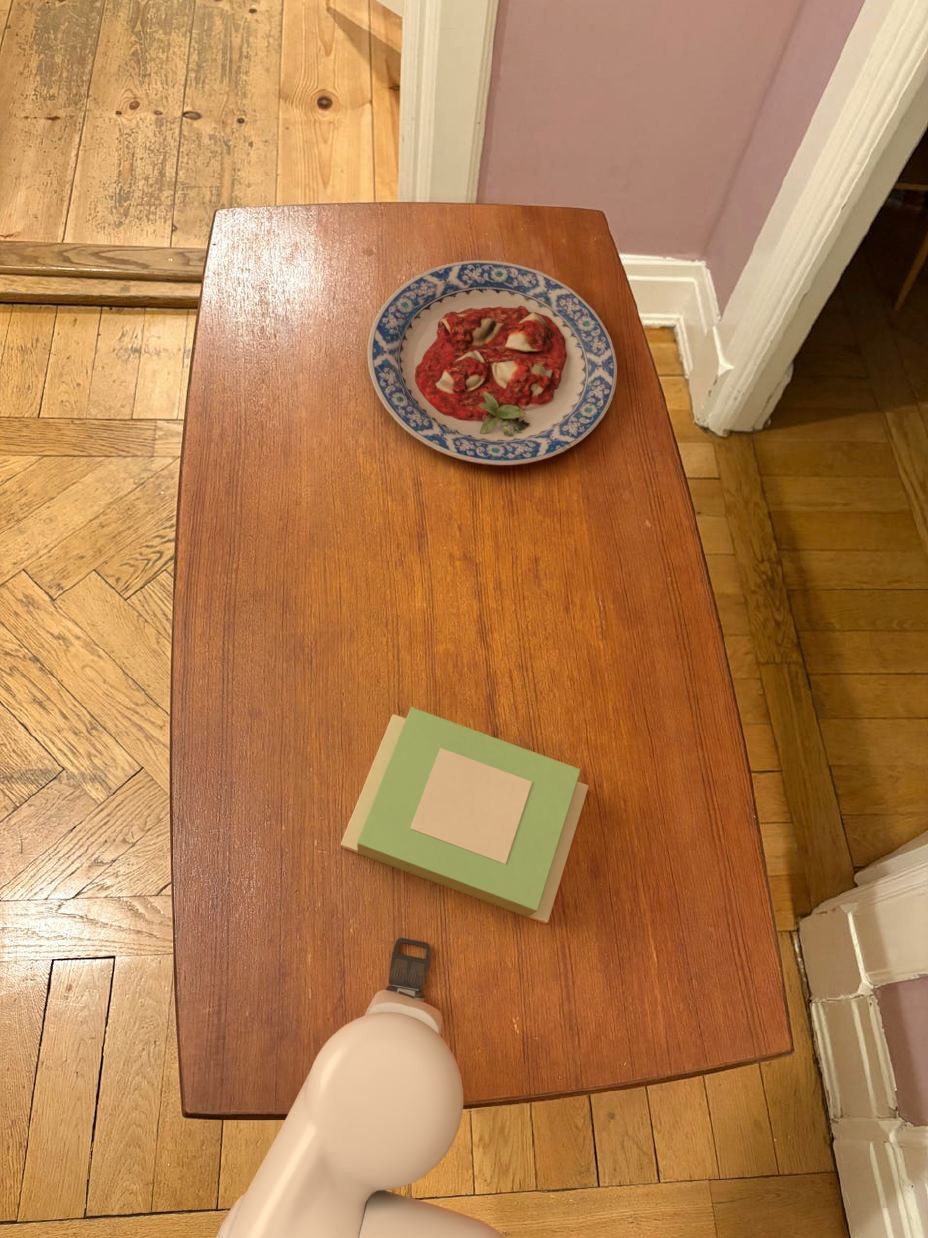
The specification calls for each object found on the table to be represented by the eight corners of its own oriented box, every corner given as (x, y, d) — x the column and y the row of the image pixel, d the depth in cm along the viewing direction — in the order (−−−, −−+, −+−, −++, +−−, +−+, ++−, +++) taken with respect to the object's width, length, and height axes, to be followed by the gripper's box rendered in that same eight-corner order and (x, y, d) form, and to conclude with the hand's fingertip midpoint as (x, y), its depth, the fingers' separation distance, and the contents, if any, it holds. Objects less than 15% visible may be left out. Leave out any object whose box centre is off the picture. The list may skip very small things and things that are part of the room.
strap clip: (411, 1059, 73) (414, 1061, 69) (372, 1052, 73) (373, 1053, 69) (432, 944, 76) (436, 939, 72) (395, 936, 76) (397, 932, 72)
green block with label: (545, 924, 78) (556, 918, 73) (340, 847, 78) (338, 836, 74) (586, 788, 82) (598, 774, 78) (392, 717, 83) (394, 699, 79)
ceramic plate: (392, 254, 104) (393, 233, 101) (622, 299, 105) (629, 279, 102) (344, 449, 94) (343, 431, 91) (599, 497, 94) (606, 481, 91)
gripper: (396, 1254, 51) (389, 1195, 68) (485, 975, 57) (458, 985, 74) (267, 1203, 51) (292, 1157, 68) (368, 931, 57) (368, 951, 74)
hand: (378, 1067), depth 71 cm, fingers closed
